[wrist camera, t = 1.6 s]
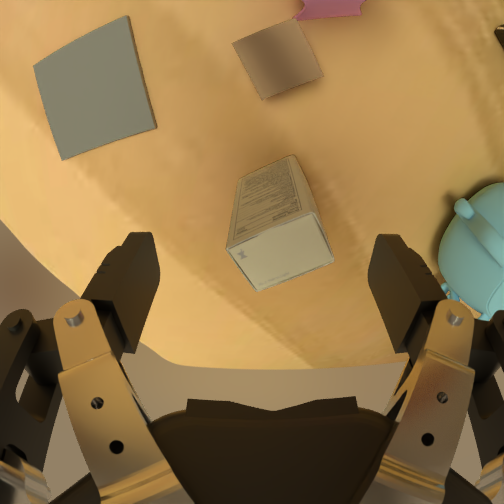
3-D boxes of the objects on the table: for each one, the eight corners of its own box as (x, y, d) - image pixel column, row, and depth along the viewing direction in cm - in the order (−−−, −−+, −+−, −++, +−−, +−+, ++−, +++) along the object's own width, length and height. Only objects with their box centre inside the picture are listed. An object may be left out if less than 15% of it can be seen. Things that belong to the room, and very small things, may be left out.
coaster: (128, 16, 19) (126, 15, 19) (157, 126, 26) (155, 128, 26) (36, 65, 21) (33, 65, 20) (64, 158, 28) (62, 160, 27)
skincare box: (257, 212, 31) (253, 295, 22) (236, 177, 29) (221, 250, 19) (313, 188, 29) (337, 264, 20) (294, 150, 27) (313, 211, 17)
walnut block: (289, 25, 20) (295, 17, 16) (313, 73, 23) (324, 76, 19) (237, 46, 22) (231, 43, 18) (261, 93, 24) (261, 100, 20)
